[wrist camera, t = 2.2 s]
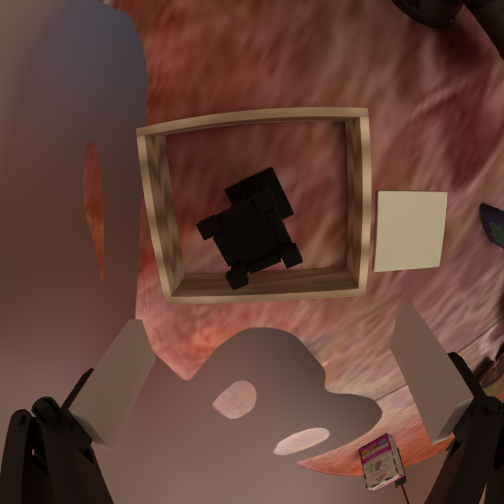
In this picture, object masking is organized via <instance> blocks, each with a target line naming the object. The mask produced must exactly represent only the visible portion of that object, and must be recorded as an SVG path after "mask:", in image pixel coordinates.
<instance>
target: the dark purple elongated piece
mask: <svg viewBox="0 0 504 504" xmlns="http://www.w3.org/2000/svg"><path fill="white" fill-rule="evenodd" d="M479 214H480V218H481V221H482V225H483V227H484V229H485V231H486V233H487V236H488V238H489V239H490V241H491V242H493V243H494V244H496V245H498V246H499V247H501V248H503V249H504V211H502V210H500V209H498V208H495V207H492V206H489V205H487V204H485V203H483V204H481V205H480V207H479Z"/></svg>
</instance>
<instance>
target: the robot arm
mask: <svg viewBox="0 0 504 504" xmlns="http://www.w3.org/2000/svg"><path fill="white" fill-rule="evenodd" d="M393 2H394V3H395V4H396V5H397V6H398V7H399V8H400V9H401V10H402V11H403V12H405V13H406V14H407V15H408V16H410V17H411V18H413V19H415V20H416V21H418V22H420V23H422V24H424V25H427V26H431V27H437V28H440V27H445V26H447V25H449V24H450V23H452V22H453V21H454V20H455V19H456V17H457V15H458V13H459V11H460V10H461V8H462V6H463V5H464V4H465V5H466V7H467V8H468V9H469V10H470V12H471V13H472V14H473V15H474V17H475V18H476V19H477V21H478V22H479V23H480V25H481V26H482V28H483V29H484V30H485V32H486V33H487V35H488V36H489V38H490V39H491V41H492V42H493V44H494V45H495V47H496V48H497V50H498V52H499V55H500V57H501V58H502V59H503V60H504V0H393ZM390 348H391V350H392V353H393V355H394V357H395V359H396V361H397V363H398V365H399V367H400V369H401V372H402V374H403V376H404V378H405V380H406V383H407V385H408V387H409V389H410V392H411V394H412V396H413V398H414V401H415V403H416V405H417V408H418V410H419V413H420V415H421V418H422V420H423V422H424V425H425V428H426V430H427V433H428V435H429V438H430V440H431V443H432V444H435V443H437V442H440V441H443V440H446V439H447V438H448V437H449V436H450V434H451V433H452V431H453V433H454V435H455V438H454V439H453V441H452V442H451V443H450V445H449V446H448V447H447V449H446V451H448V450H449V452H448V455H447V457H446V459H445V462H444V464H443V467H442V469H441V471H440V473H439V475H438V478H437V480H436V482H435V484H434V486H433V488H432V490H431V492H430V494H429V496H428V498H427V500H426V501H425V503H424V504H479V502H480V499H481V497H482V494H483V491H484V488H485V485H486V483H487V485H486V492H485V500H484V504H504V403H501V401H500V400H499V399H498V398H496V397H493V396H487V395H486V394H485V392H484V390H483V389H482V387H481V385H480V384H479V382H478V381H477V379H476V378H475V376H474V375H473V373H471V370H470V369H469V367H467V364H466V363H465V361H464V360H463V358H462V357H460V356H459V355H458V354H456V353H455V352H451V353H446V352H445V350H444V349H443V347H442V346H441V344H440V343H439V341H438V340H437V338H436V337H435V335H434V334H433V332H432V331H431V330H430V328H429V327H428V325H427V324H426V323H425V321H424V320H423V318H422V317H421V316H420V314H419V313H418V312H417V310H416V309H415V308H414V306H413V305H412V304H405V305H399V306H398V312H397V317H396V322H395V328H394V332H393V337H392V342H391V346H390ZM155 359H156V358H155V356H154V353H153V350H152V348H151V345H150V342H149V339H148V337H147V334H146V331H145V328H144V325H143V322H142V320H135V319H130V320H129V321H128V322H127V324H126V325H125V326H124V328H123V329H122V331H121V332H120V333H119V335H118V336H117V338H116V339H115V341H114V342H113V343H112V345H111V346H110V347H109V349H108V350H107V352H106V353H105V355H104V356H103V358H102V359H101V360H100V362H99V363H98V365H97V367H96V368H95V369H92V368H91V369H89V370H88V371H87V372H86V373H85V374H83V375H82V377H81V378H80V380H79V381H78V383H77V384H76V385H75V387H74V389H73V390H72V392H71V393H70V394H69V396H68V398H67V399H66V400H65V402H64V404H63V405H62V407H61V408H60V407H59V406H58V404H57V403H56V401H55V400H54V399H53V398H51V397H42V398H40V399H38V400H37V401H36V402H35V403H34V404H33V406H32V412H33V414H34V415H35V416H36V417H33V416H32V415H31V414H30V413H29V411H27V410H26V409H20V410H18V411H16V412H15V413H14V414H13V415H12V417H11V419H10V423H9V427H8V432H7V437H6V442H5V447H4V452H3V458H2V465H1V473H0V504H114V503H113V500H112V498H111V496H110V493H109V491H108V489H107V486H106V484H105V481H104V479H103V476H102V473H101V471H100V468H99V465H98V462H97V460H96V457H95V454H94V451H93V449H92V447H91V445H90V444H91V443H92V441H94V442H95V443H96V445H97V446H98V447H100V448H103V449H106V450H109V451H113V449H114V447H115V444H116V442H117V440H118V438H119V435H120V433H121V431H122V429H123V427H124V425H125V422H126V420H127V418H128V416H129V414H130V411H131V409H132V407H133V405H134V403H135V401H136V399H137V397H138V394H139V392H140V390H141V388H142V386H143V384H144V382H145V380H146V378H147V375H148V374H149V371H150V369H151V367H152V365H153V363H154V361H155ZM32 449H33V450H34V455H32Z"/></svg>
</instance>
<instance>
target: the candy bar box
mask: <svg viewBox="0 0 504 504" xmlns="http://www.w3.org/2000/svg"><path fill="white" fill-rule="evenodd" d="M359 453H360V458H361V463H362V467H363V473H364V478H365V483H366V488H367V490H372V491H374V490H377V489H379V488H381V487H383V486H385V485H388V484H390V483H392V482H394V481H396V480H398V479H400V478H402V477H403V476H405V475H404V471H403V468H402V464H401V461H400V458H399V454H398V451H397V447H396V444H395V441H394V438H393V436H391V435H389V434H385V435H383V436H381V437H380V438H378V439H376V440H375V441H373V442H371V443H369V444H368V445H366V446H364V447H362V448H360V449H359Z"/></svg>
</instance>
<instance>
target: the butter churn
mask: <svg viewBox="0 0 504 504" xmlns="http://www.w3.org/2000/svg"><path fill="white" fill-rule="evenodd" d="M397 451H398V454H399V458H400V461H401V464H402V460H401V457H400V453H399V449H398V448H397ZM402 468H403V471H404V467H403V464H402ZM404 475H405V471H404ZM405 482H406V476H403V477H402V478H400V479H398V480H396V481H395V485H396V488H397V487H398V485H401V486H402V489H403V492H404V495H405V498H406V500H407V504H409V501H408V498H407V496H406V493H405V490H404V488H403V485H402V484H404V483H405Z"/></svg>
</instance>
